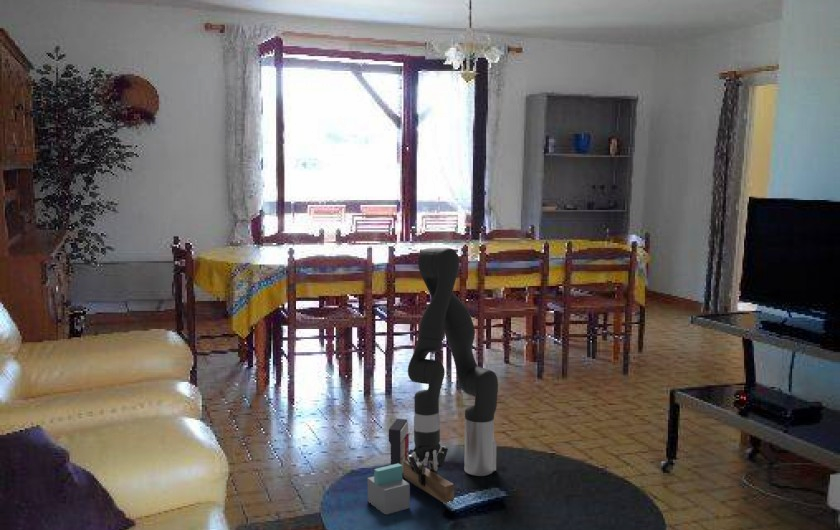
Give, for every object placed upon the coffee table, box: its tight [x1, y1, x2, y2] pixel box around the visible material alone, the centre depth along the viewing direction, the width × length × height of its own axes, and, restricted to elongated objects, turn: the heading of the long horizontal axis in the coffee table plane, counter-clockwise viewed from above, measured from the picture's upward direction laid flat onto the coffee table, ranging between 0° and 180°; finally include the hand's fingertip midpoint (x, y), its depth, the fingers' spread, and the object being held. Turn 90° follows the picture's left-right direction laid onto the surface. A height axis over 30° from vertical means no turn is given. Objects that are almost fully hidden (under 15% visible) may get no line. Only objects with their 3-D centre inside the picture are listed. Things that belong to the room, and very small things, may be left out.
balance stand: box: [367, 463, 411, 515], centre depth 204 cm, size 8×10×11 cm
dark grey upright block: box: [388, 418, 410, 475], centre depth 228 cm, size 11×4×15 cm, turn 168°
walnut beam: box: [402, 460, 455, 504], centre depth 210 cm, size 3×22×5 cm, turn 33°
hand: (427, 483), depth 210 cm, fingers closed on walnut beam, 3 cm apart
